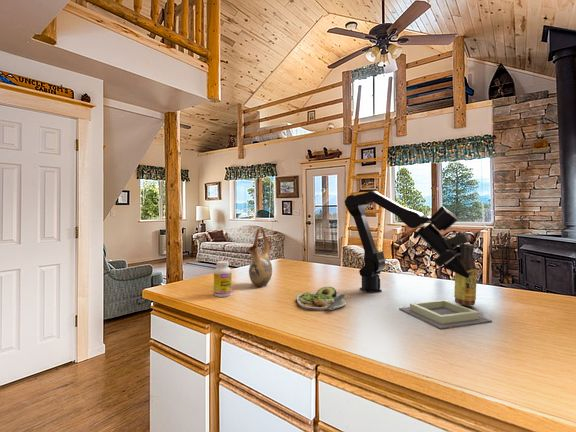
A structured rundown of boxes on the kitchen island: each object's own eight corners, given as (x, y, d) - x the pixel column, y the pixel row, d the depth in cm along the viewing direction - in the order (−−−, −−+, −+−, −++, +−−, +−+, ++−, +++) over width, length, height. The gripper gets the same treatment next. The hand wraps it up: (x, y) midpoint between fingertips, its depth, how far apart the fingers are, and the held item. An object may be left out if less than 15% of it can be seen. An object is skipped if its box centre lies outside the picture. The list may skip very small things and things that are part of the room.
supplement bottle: (219, 298, 118) (218, 263, 118) (210, 295, 123) (210, 261, 123) (235, 295, 123) (234, 261, 122) (226, 291, 128) (225, 259, 127)
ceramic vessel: (261, 280, 147) (261, 226, 146) (279, 282, 143) (278, 226, 142) (241, 288, 132) (240, 228, 131) (259, 291, 128) (259, 229, 127)
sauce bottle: (468, 307, 102) (468, 245, 102) (450, 302, 108) (450, 243, 107) (480, 304, 105) (481, 244, 105) (462, 299, 111) (463, 242, 110)
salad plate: (355, 314, 101) (355, 299, 101) (298, 315, 100) (298, 300, 100) (342, 297, 120) (342, 284, 120) (295, 297, 119) (295, 285, 119)
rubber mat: (440, 329, 86) (440, 327, 86) (399, 309, 104) (399, 308, 104) (492, 321, 92) (492, 320, 92) (444, 304, 109) (444, 302, 109)
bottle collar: (441, 324, 89) (441, 316, 89) (409, 309, 102) (409, 303, 102) (478, 318, 93) (478, 312, 93) (444, 305, 106) (444, 299, 106)
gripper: (446, 225, 101) (486, 264, 94) (459, 223, 115) (494, 256, 109) (420, 248, 106) (456, 286, 100) (435, 243, 121) (468, 276, 114)
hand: (470, 275), depth 105 cm, fingers closed on sauce bottle, 6 cm apart
